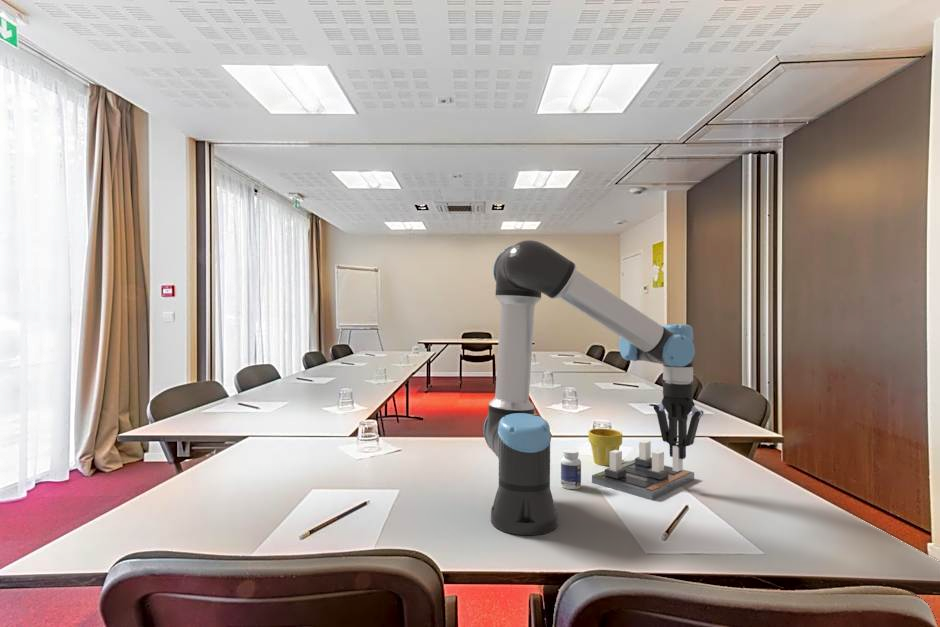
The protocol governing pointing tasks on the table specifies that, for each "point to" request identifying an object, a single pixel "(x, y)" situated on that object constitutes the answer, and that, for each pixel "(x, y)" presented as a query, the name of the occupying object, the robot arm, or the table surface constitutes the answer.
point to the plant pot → (604, 444)
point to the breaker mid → (658, 466)
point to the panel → (644, 481)
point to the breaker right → (644, 454)
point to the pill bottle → (570, 470)
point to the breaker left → (615, 465)
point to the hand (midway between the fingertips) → (677, 469)
